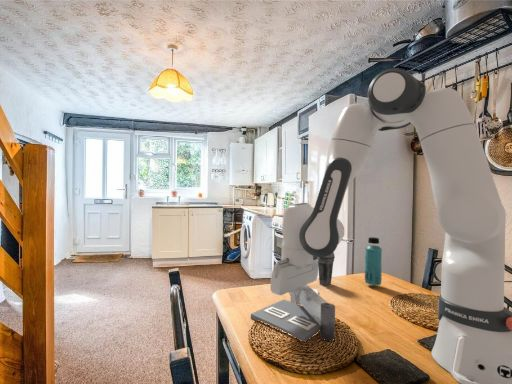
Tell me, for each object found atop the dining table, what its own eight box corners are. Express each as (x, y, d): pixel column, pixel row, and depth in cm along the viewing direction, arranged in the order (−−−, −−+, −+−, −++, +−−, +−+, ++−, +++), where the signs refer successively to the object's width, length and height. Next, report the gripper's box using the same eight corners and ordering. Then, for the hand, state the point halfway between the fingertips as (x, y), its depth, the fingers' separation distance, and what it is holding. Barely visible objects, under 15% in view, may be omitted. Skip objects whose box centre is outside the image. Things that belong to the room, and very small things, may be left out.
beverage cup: (336, 283, 115) (337, 235, 115) (331, 288, 109) (332, 238, 109) (319, 280, 119) (320, 234, 119) (313, 284, 113) (314, 236, 113)
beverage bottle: (382, 285, 113) (383, 237, 113) (380, 290, 108) (381, 239, 108) (365, 282, 117) (366, 235, 117) (362, 287, 111) (363, 237, 111)
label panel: (335, 321, 81) (335, 316, 81) (304, 342, 69) (304, 336, 69) (283, 302, 94) (283, 298, 94) (250, 317, 82) (250, 312, 82)
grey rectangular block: (337, 340, 70) (337, 308, 70) (324, 341, 69) (324, 309, 69) (302, 303, 93) (303, 279, 93) (292, 304, 92) (293, 279, 92)
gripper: (283, 264, 74) (282, 315, 74) (322, 252, 89) (321, 295, 89) (265, 259, 78) (264, 308, 78) (305, 249, 93) (304, 290, 93)
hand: (295, 301), depth 84 cm, fingers closed
